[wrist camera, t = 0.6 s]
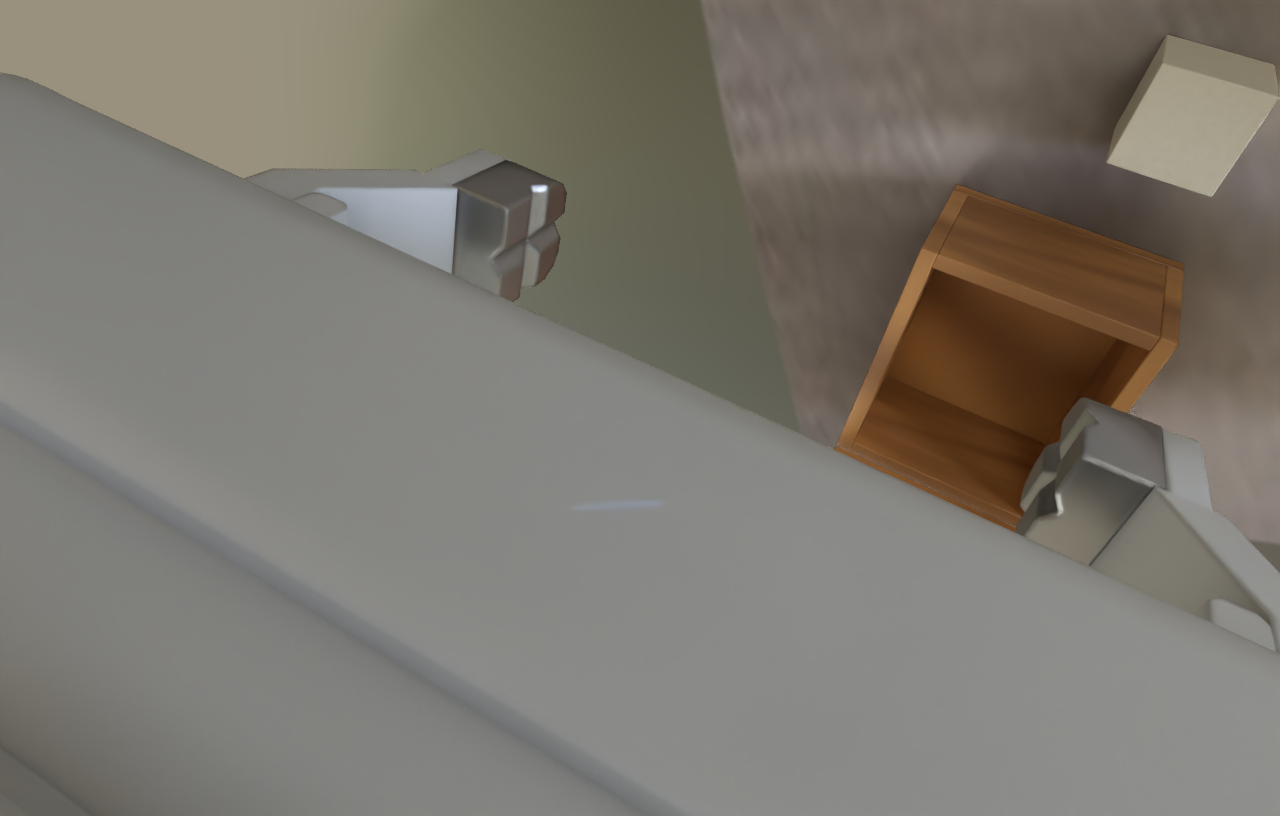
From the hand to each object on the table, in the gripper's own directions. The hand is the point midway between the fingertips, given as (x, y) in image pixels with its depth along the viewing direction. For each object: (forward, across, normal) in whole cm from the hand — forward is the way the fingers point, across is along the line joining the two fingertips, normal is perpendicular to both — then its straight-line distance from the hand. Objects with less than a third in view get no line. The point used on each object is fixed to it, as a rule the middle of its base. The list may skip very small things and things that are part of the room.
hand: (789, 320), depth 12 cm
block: (+34, -8, +1) cm, 35 cm away
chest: (+36, -7, +15) cm, 40 cm away
